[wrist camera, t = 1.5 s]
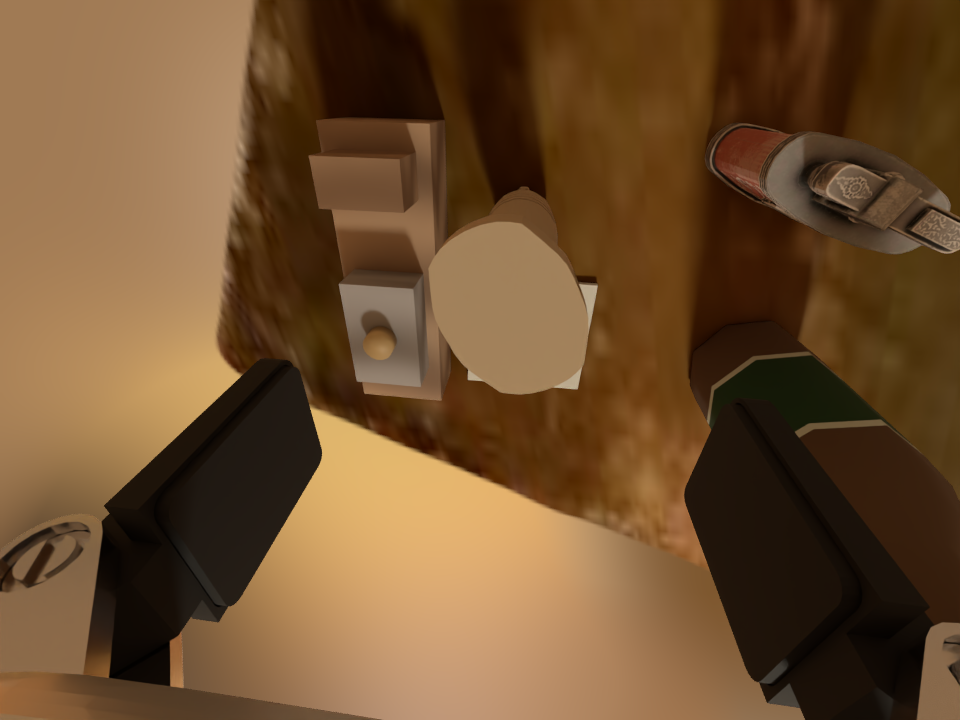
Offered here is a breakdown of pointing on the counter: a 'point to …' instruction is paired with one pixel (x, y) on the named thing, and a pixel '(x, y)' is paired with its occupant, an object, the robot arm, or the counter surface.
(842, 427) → the brown glass bottle
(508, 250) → the handle
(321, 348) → the counter surface
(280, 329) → the counter surface
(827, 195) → the lighter
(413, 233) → the body
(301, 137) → the counter surface
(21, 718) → the robot arm
